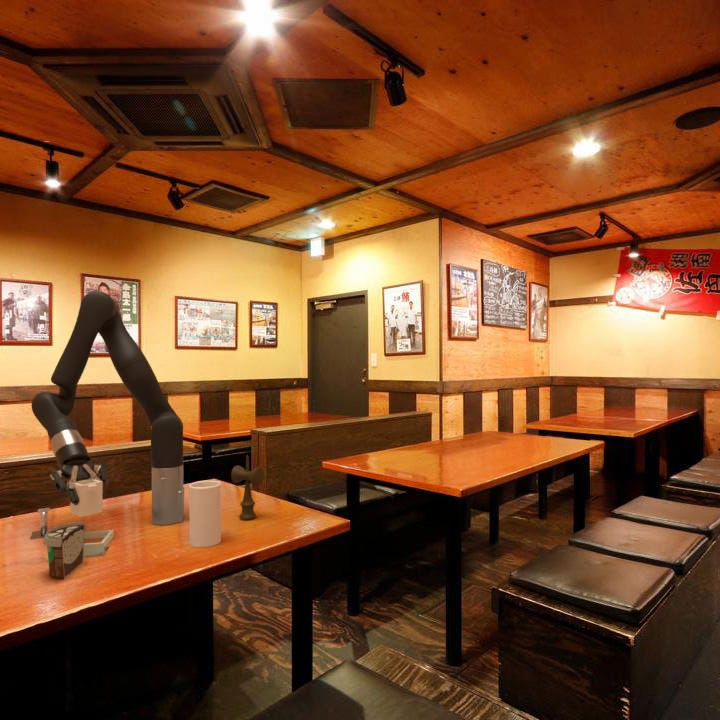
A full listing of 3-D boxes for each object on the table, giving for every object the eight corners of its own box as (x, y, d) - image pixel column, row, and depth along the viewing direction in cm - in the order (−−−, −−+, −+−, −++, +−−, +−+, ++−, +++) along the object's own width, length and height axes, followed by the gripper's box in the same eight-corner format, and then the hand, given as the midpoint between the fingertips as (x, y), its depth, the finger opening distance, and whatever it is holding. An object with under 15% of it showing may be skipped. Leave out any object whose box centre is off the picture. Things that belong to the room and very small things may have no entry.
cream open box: (92, 508, 137) (92, 478, 137) (104, 512, 133) (104, 482, 133) (70, 512, 132) (70, 482, 132) (82, 517, 128) (82, 486, 128)
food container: (60, 561, 125) (60, 521, 125) (85, 560, 126) (85, 520, 126) (32, 583, 113) (32, 538, 113) (60, 582, 113) (60, 537, 113)
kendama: (254, 523, 154) (254, 458, 155) (229, 519, 158) (229, 455, 159) (265, 517, 160) (265, 454, 160) (241, 513, 164) (241, 452, 164)
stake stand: (65, 532, 147) (64, 503, 147) (64, 539, 140) (64, 509, 140) (32, 537, 143) (32, 507, 143) (29, 545, 137) (29, 513, 137)
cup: (192, 549, 133) (192, 488, 133) (187, 539, 140) (187, 482, 140) (223, 544, 137) (223, 485, 137) (217, 535, 144) (217, 479, 144)
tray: (113, 541, 139) (113, 529, 139) (103, 555, 129) (103, 543, 129) (72, 544, 137) (72, 532, 137) (58, 559, 127) (58, 546, 127)
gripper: (45, 444, 132) (64, 498, 124) (101, 438, 143) (122, 486, 136) (36, 462, 135) (55, 515, 128) (92, 454, 146) (112, 503, 139)
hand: (89, 500), depth 132 cm, fingers closed on cream open box, 5 cm apart
